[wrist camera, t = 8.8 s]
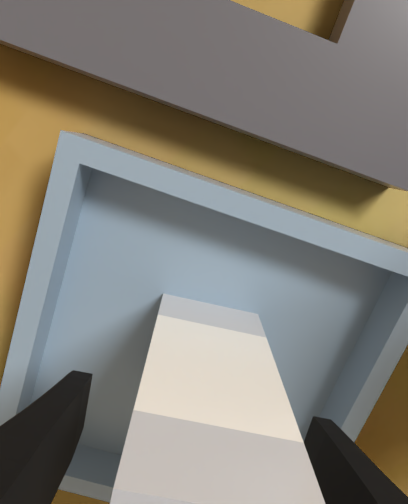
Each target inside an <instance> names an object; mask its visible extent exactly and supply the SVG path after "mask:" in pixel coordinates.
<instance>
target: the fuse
mask: <svg viewBox="0 0 408 504" xmlns="http://www.w3.org/2000/svg"><path fill="white" fill-rule="evenodd" d="M110 504H325V501H324V498H323V496H322V493H321V490H320V487H319V484H318V481H317V479H316V476H315V473H314V470H313V467H312V465H311V462H310V459H309V456H308V453H307V451H306V448H305V445H304V442H303V439H302V436H301V434H300V431H299V428H298V425H297V422H296V420H295V417H294V414H293V411H292V408H291V406H290V403H289V400H288V397H287V394H286V391H285V389H284V386H283V383H282V380H281V377H280V375H279V372H278V369H277V366H276V363H275V360H274V358H273V355H272V352H271V349H270V346H269V344H268V341H267V338H266V335H265V332H264V330H263V327H262V324H261V321H260V318H259V315H258V314H255V313H251V312H246V311H242V310H237V309H232V308H228V307H223V306H219V305H214V304H209V303H205V302H200V301H196V300H191V299H186V298H182V297H177V296H173V295H168V294H163V296H162V300H161V304H160V308H159V312H158V316H157V320H156V324H155V328H154V331H153V335H152V339H151V343H150V347H149V351H148V355H147V359H146V363H145V367H144V370H143V374H142V378H141V382H140V386H139V390H138V394H137V398H136V402H135V406H134V409H133V413H132V417H131V421H130V425H129V429H128V433H127V437H126V441H125V445H124V448H123V452H122V456H121V460H120V464H119V468H118V472H117V476H116V480H115V484H114V487H113V492H112V496H111V501H110Z"/></svg>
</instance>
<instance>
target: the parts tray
mask: <svg viewBox="0 0 408 504" xmlns="http://www.w3.org/2000/svg"><path fill="white" fill-rule="evenodd" d="M163 294H168V295H173V296H177V297H182V298H186V299H191V300H196V301H200V302H205V303H209V304H214V305H219V306H223V307H228V308H232V309H237V310H242V311H246V312H251V313H255V314H258V315H259V318H260V321H261V324H262V327H263V330H264V332H265V335H266V338H267V341H268V344H269V346H270V349H271V352H272V355H273V358H274V360H275V363H276V366H277V369H278V372H279V375H280V377H281V380H282V383H283V386H284V389H285V391H286V394H287V397H288V400H289V403H290V406H291V408H292V411H293V414H294V417H295V420H296V422H297V425H298V428H299V431H300V434H301V436H302V439H303V442H304V440H305V437H306V434H307V432H308V429H309V426H310V423H311V420H312V418H313V416H316V417H321V418H326V419H331V420H332V421H333V422H334V423H335V424H336V425H337V426H338V427H339V428H340V429H341V430H342V431H343V432H344V433H345V434H346V435H347V436H348V437H349V438H350V439H351V440H352V441H353V442H355V440H356V438H357V437H358V435H359V433H360V431H361V429H362V427H363V426H364V424H365V422H366V420H367V418H368V416H369V415H370V413H371V411H372V409H373V407H374V406H375V404H376V402H377V400H378V398H379V396H380V395H381V393H382V391H383V389H384V387H385V385H386V384H387V382H388V380H389V378H390V376H391V374H392V373H393V371H394V369H395V367H396V365H397V363H398V362H399V360H400V358H401V356H402V354H403V352H404V351H405V349H406V347H407V345H408V248H406V247H403V246H401V245H398V244H395V243H392V242H389V241H386V240H384V239H381V238H378V237H375V236H372V235H369V234H367V233H364V232H361V231H358V230H355V229H352V228H350V227H347V226H344V225H341V224H338V223H336V222H333V221H330V220H327V219H324V218H321V217H319V216H316V215H313V214H310V213H307V212H304V211H302V210H299V209H296V208H293V207H290V206H287V205H285V204H282V203H279V202H276V201H273V200H270V199H268V198H265V197H262V196H259V195H256V194H254V193H251V192H248V191H245V190H242V189H239V188H237V187H234V186H231V185H228V184H225V183H222V182H220V181H217V180H214V179H211V178H208V177H205V176H203V175H200V174H197V173H194V172H191V171H189V170H186V169H183V168H180V167H177V166H174V165H172V164H169V163H166V162H163V161H160V160H157V159H155V158H152V157H149V156H146V155H143V154H140V153H138V152H135V151H132V150H129V149H126V148H123V147H121V146H118V145H115V144H112V143H109V142H107V141H104V140H101V139H98V138H95V137H92V136H90V135H87V134H83V133H76V132H69V131H62V130H61V132H60V136H59V140H58V144H57V149H56V153H55V157H54V161H53V166H52V170H51V174H50V178H49V183H48V187H47V191H46V195H45V200H44V204H43V208H42V212H41V217H40V221H39V225H38V229H37V234H36V238H35V242H34V246H33V251H32V255H31V259H30V263H29V268H28V272H27V276H26V280H25V285H24V289H23V293H22V298H21V302H20V306H19V310H18V315H17V319H16V323H15V327H14V332H13V336H12V340H11V344H10V349H9V353H8V357H7V361H6V366H5V370H4V374H3V378H2V383H1V387H0V426H1V425H2V424H4V423H5V422H6V421H8V420H9V419H11V418H12V417H14V416H15V415H17V414H18V413H20V412H21V411H22V410H24V409H25V408H26V407H28V406H29V405H30V404H32V403H33V402H34V401H35V400H37V399H38V398H39V397H41V396H42V395H43V394H44V393H46V392H47V391H48V390H49V389H51V388H52V387H53V386H54V385H55V384H57V383H58V382H59V381H60V380H61V379H62V378H64V377H65V376H66V375H67V374H68V373H69V372H71V371H73V370H75V371H81V372H86V373H91V374H93V376H92V381H91V387H90V393H89V399H88V405H87V411H86V416H85V422H84V428H83V431H82V434H81V436H80V439H79V442H78V445H77V448H76V450H75V453H74V456H73V458H72V461H71V463H70V465H69V467H68V469H67V471H66V473H65V475H64V478H63V480H62V482H61V484H60V486H59V488H58V489H59V490H63V491H67V492H71V493H75V494H79V495H83V496H87V497H91V498H95V499H98V500H102V501H106V502H110V501H111V496H112V492H113V487H114V484H115V480H116V476H117V472H118V468H119V464H120V460H121V456H122V452H123V448H124V445H125V441H126V437H127V433H128V429H129V425H130V421H131V417H132V413H133V409H134V406H135V402H136V398H137V394H138V390H139V386H140V382H141V378H142V374H143V370H144V367H145V363H146V359H147V355H148V351H149V347H150V343H151V339H152V335H153V331H154V328H155V324H156V320H157V316H158V312H159V308H160V304H161V300H162V296H163Z"/></svg>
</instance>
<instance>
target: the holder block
mask: <svg viewBox="0 0 408 504" xmlns="http://www.w3.org/2000/svg"><path fill="white" fill-rule="evenodd" d="M0 44H2V45H5V46H7V47H10V48H13V49H16V50H18V51H21V52H24V53H26V54H29V55H32V56H35V57H37V58H40V59H43V60H45V61H48V62H51V63H53V64H56V65H59V66H62V67H64V68H67V69H70V70H72V71H75V72H78V73H81V74H83V75H86V76H89V77H91V78H94V79H97V80H99V81H102V82H105V83H108V84H110V85H113V86H116V87H118V88H121V89H124V90H127V91H129V92H132V93H135V94H137V95H140V96H143V97H145V98H148V99H151V100H154V101H156V102H159V103H162V104H164V105H167V106H170V107H173V108H175V109H178V110H181V111H183V112H186V113H189V114H192V115H194V116H197V117H200V118H202V119H205V120H208V121H210V122H213V123H216V124H219V125H221V126H224V127H227V128H229V129H232V130H235V131H238V132H240V133H243V134H246V135H248V136H251V137H254V138H256V139H259V140H262V141H265V142H267V143H270V144H273V145H275V146H278V147H281V148H284V149H286V150H289V151H292V152H294V153H297V154H300V155H303V156H305V157H308V158H311V159H313V160H316V161H319V162H321V163H324V164H327V165H330V166H332V167H335V168H338V169H340V170H343V171H346V172H349V173H351V174H354V175H357V176H359V177H362V178H365V179H367V180H370V181H373V182H376V183H378V184H381V185H384V186H386V187H389V188H394V189H399V190H404V191H408V0H344V2H343V4H342V7H341V10H340V12H339V15H338V17H337V20H336V22H335V25H334V28H333V30H332V33H331V35H330V38H329V40H326V39H324V38H322V37H319V36H317V35H314V34H312V33H309V32H307V31H304V30H302V29H299V28H297V27H294V26H292V25H289V24H287V23H285V22H282V21H280V20H277V19H275V18H272V17H270V16H267V15H265V14H262V13H260V12H257V11H255V10H252V9H250V8H247V7H245V6H243V5H240V4H238V3H235V2H233V1H230V0H0Z"/></svg>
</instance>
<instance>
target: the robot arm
mask: <svg viewBox="0 0 408 504" xmlns="http://www.w3.org/2000/svg"><path fill="white" fill-rule="evenodd" d="M92 376H93V374H91V373H86V372H81V371H75V370H73V371H71V372H69V373H68V374H67V375H66V376H65V377H64V378H62V379H61V380H60V381H59V382H58V383H57V384H55V385H54V386H53V387H52V388H51V389H49V390H48V391H47V392H46V393H44V394H43V395H42V396H41V397H39V398H38V399H37V400H35V401H34V402H33V403H32V404H30V405H29V406H28V407H26V408H25V409H24V410H22V411H21V412H20V413H18V414H17V415H15V416H14V417H12V418H11V419H9V420H8V421H6V422H5V423H4V424H2V425H1V426H0V504H51V502H52V500H53V498H54V496H55V494H56V492H57V490H58V488H59V486H60V484H61V482H62V480H63V478H64V475H65V473H66V471H67V469H68V467H69V465H70V463H71V461H72V458H73V456H74V453H75V450H76V448H77V445H78V442H79V439H80V436H81V434H82V431H83V428H84V422H85V416H86V411H87V405H88V399H89V393H90V387H91V381H92ZM304 445H305V448H306V451H307V453H308V456H309V459H310V462H311V465H312V467H313V470H314V473H315V476H316V479H317V481H318V484H319V487H320V490H321V493H322V496H323V498H324V501H325V504H408V497H407V496H406V495H405V494H404V493H403V492H402V491H401V490H400V489H399V488H398V487H397V486H396V485H395V484H394V483H393V482H392V481H391V480H390V479H389V478H388V477H387V476H386V475H385V474H384V473H383V472H382V471H381V470H380V469H379V468H378V467H377V466H376V465H375V464H374V463H373V462H372V461H371V460H370V459H369V458H368V457H367V456H366V455H365V454H364V453H363V452H362V451H361V449H360V448H359V447H358V446H357V445H356V444H355V443H354V442H353V441H352V440H351V439H350V438H349V437H348V436H347V435H346V434H345V433H344V432H343V431H342V430H341V429H340V428H339V427H338V426H337V425H336V424H335V423H334V422H333V421H332V420H331V419H326V418H321V417H316V416H313V418H312V420H311V423H310V426H309V429H308V432H307V434H306V437H305V440H304Z"/></svg>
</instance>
